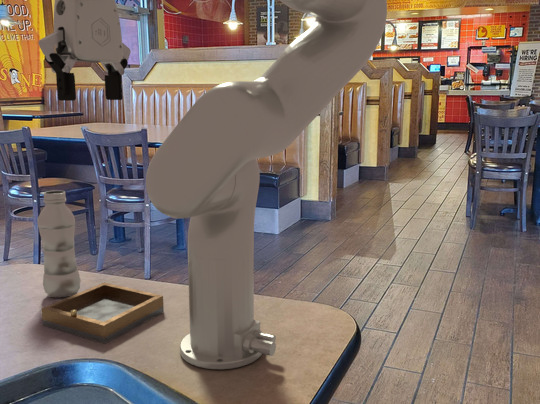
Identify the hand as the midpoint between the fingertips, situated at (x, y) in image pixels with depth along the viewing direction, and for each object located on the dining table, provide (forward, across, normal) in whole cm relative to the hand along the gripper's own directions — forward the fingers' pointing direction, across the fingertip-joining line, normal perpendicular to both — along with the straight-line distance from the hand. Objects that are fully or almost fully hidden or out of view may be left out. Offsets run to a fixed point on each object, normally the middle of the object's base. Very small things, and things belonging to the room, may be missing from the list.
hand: (91, 100), depth 84 cm
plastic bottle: (+37, +4, +15) cm, 40 cm away
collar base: (+37, 0, 0) cm, 37 cm away
